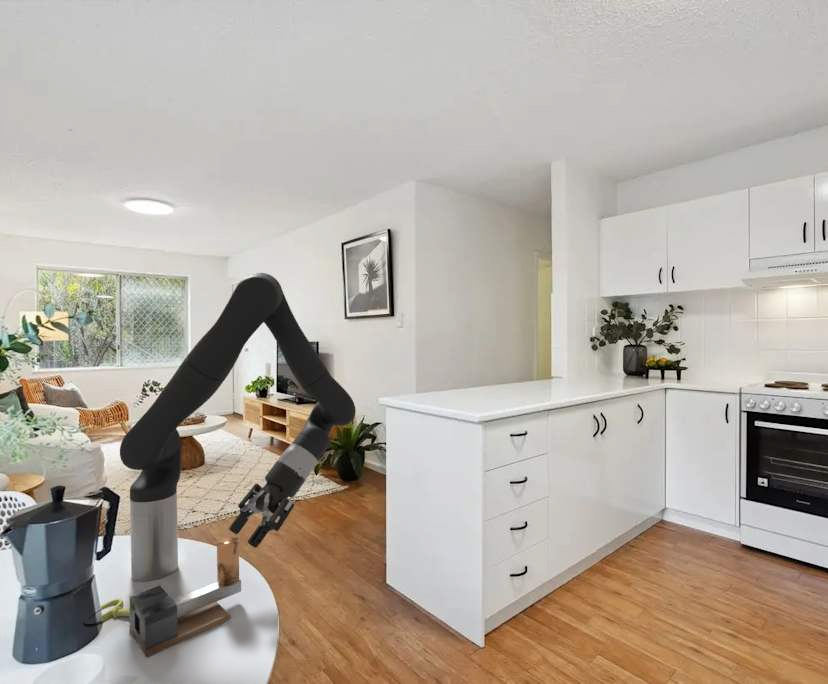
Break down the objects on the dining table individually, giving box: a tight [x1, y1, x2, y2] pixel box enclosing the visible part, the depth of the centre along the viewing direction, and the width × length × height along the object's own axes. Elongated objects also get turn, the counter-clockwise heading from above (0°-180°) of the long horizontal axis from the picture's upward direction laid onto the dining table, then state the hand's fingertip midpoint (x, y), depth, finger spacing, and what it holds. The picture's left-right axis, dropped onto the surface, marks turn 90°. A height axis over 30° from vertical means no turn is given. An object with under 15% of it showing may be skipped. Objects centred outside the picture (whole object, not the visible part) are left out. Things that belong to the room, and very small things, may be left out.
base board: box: [128, 601, 231, 659], centre depth 85 cm, size 10×14×1 cm
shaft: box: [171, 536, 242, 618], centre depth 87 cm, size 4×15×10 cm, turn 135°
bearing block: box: [129, 585, 177, 650], centre depth 82 cm, size 9×5×6 cm, turn 45°
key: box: [100, 598, 130, 622], centre depth 89 cm, size 7×12×2 cm, turn 96°
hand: (241, 538), depth 93 cm, fingers open, 8 cm apart
